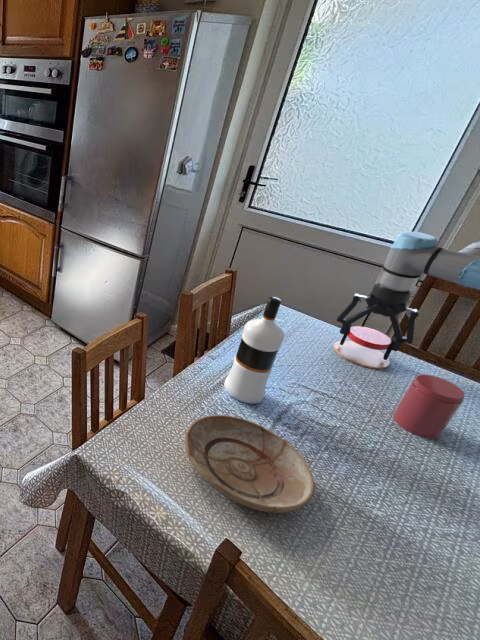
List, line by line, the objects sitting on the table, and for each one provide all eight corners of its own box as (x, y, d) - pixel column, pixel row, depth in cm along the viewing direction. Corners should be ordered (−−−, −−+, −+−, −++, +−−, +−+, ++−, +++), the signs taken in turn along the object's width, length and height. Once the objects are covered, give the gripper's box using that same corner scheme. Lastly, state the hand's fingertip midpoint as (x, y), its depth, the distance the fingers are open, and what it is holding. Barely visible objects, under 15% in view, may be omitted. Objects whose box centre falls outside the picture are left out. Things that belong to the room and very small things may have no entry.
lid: (338, 331, 127) (341, 326, 126) (367, 330, 128) (370, 325, 127) (367, 351, 119) (369, 345, 118) (398, 349, 119) (400, 344, 118)
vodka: (215, 386, 115) (243, 293, 102) (239, 377, 118) (270, 286, 105) (246, 409, 107) (281, 312, 94) (271, 399, 110) (308, 304, 97)
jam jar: (440, 424, 101) (466, 386, 96) (440, 444, 96) (467, 405, 91) (394, 406, 107) (415, 368, 102) (391, 424, 102) (413, 385, 96)
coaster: (391, 354, 125) (392, 353, 125) (387, 375, 117) (388, 373, 117) (336, 336, 134) (337, 335, 134) (329, 354, 126) (330, 353, 126)
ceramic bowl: (183, 416, 105) (187, 401, 103) (296, 451, 95) (303, 436, 93) (179, 492, 87) (183, 476, 85) (317, 546, 77) (327, 530, 75)
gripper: (451, 294, 110) (414, 361, 120) (345, 269, 125) (320, 330, 134) (451, 305, 106) (413, 373, 115) (341, 277, 120) (315, 339, 130)
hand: (363, 350), depth 125 cm, fingers closed on lid, 9 cm apart
